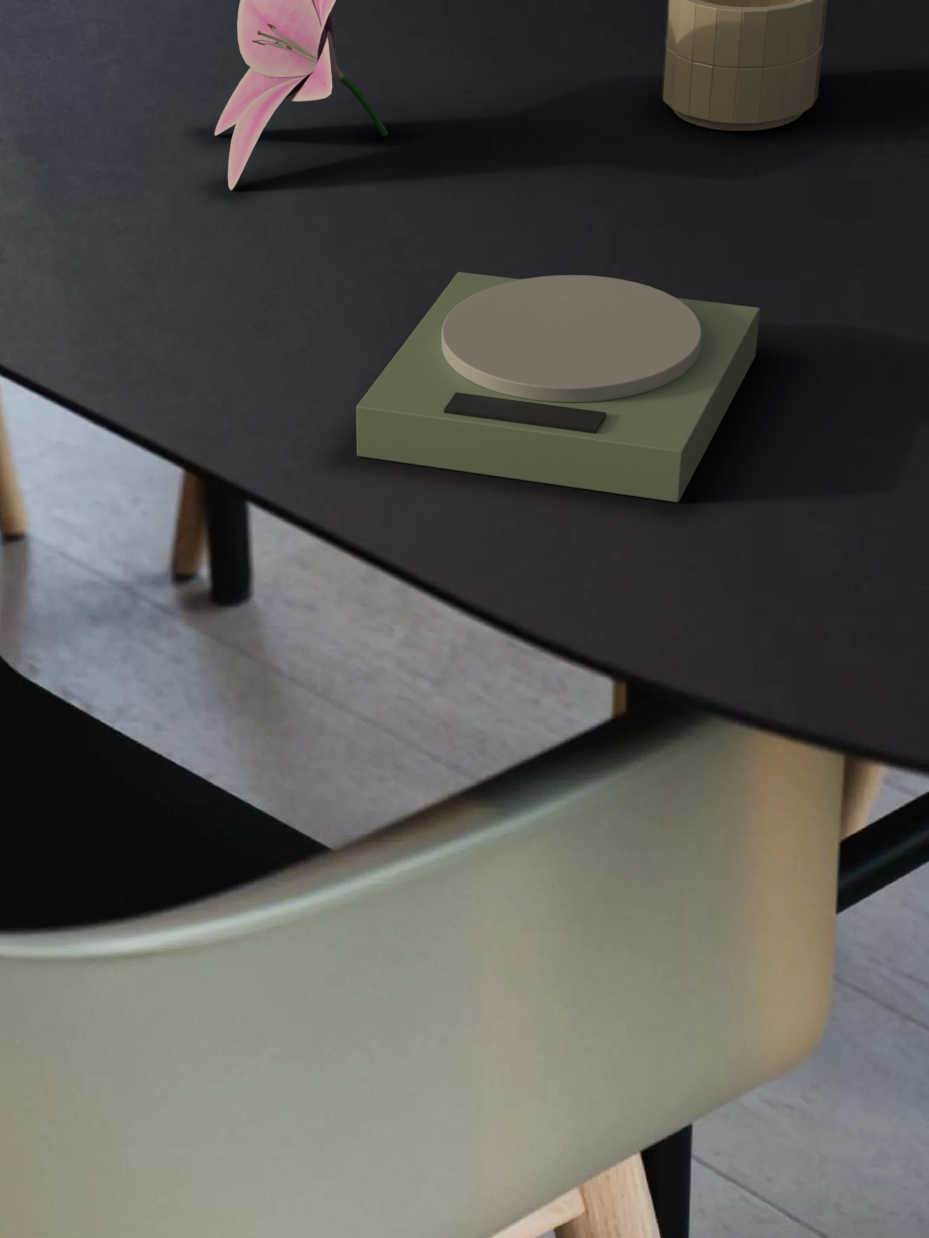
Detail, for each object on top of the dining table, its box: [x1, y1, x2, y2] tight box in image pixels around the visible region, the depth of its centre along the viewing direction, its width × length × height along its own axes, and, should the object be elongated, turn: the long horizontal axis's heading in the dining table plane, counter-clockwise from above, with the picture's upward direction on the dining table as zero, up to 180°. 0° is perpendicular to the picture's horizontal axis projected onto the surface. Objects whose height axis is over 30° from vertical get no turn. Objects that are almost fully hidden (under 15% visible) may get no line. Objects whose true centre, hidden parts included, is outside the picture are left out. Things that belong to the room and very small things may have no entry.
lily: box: [214, 0, 389, 191], centre depth 113 cm, size 12×12×10 cm
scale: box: [355, 271, 761, 503], centre depth 94 cm, size 12×12×3 cm
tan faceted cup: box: [661, 0, 829, 132], centre depth 115 cm, size 7×7×6 cm
